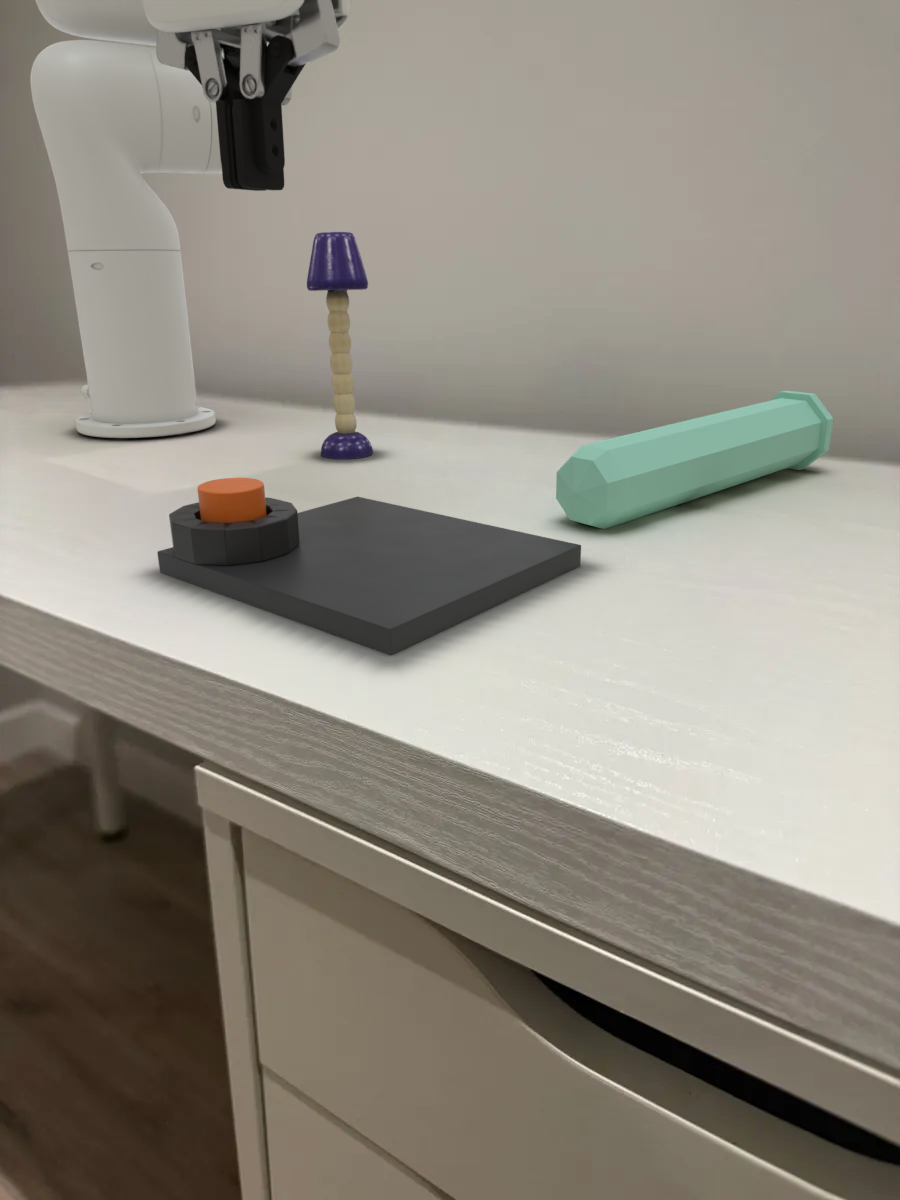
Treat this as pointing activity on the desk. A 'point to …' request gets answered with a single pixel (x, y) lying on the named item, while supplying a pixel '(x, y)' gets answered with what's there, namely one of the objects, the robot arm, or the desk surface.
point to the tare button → (232, 500)
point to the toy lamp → (340, 334)
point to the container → (691, 459)
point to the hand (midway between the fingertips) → (254, 188)
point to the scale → (363, 566)
